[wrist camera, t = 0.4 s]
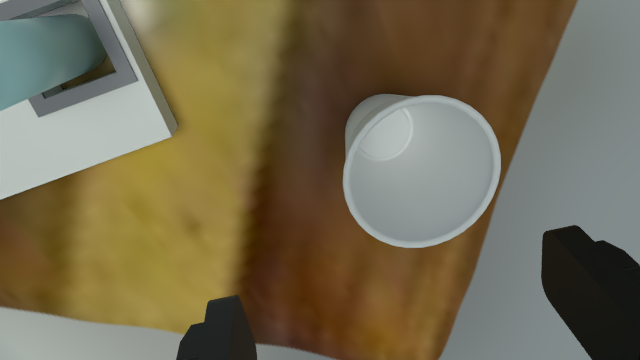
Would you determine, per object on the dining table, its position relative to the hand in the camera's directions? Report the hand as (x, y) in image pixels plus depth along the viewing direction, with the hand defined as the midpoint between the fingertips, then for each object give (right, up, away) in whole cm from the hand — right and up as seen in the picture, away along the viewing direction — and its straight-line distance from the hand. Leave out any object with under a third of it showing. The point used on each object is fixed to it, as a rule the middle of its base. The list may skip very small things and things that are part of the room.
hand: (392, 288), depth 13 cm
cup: (+3, +7, +27) cm, 28 cm away
